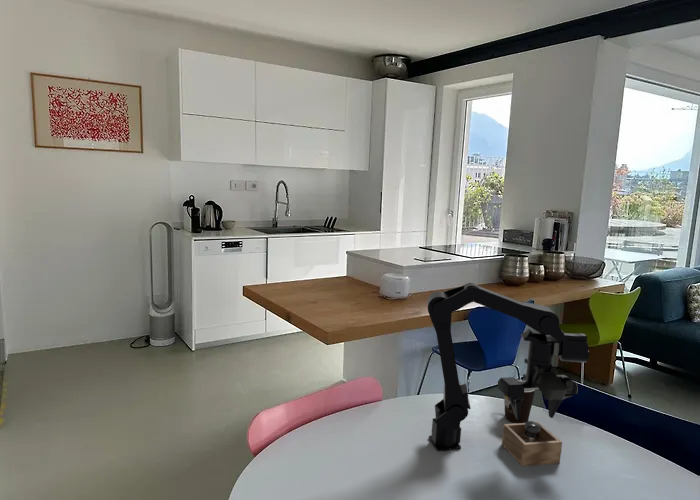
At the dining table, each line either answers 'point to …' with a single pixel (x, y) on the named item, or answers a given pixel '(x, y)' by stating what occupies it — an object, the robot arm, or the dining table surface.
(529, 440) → the plunger
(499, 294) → the robot arm
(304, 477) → the dining table surface
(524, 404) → the coffee mug
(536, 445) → the wooden square tray
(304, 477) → the dining table surface
